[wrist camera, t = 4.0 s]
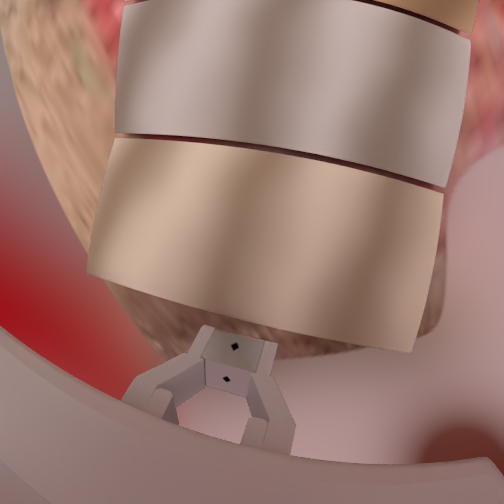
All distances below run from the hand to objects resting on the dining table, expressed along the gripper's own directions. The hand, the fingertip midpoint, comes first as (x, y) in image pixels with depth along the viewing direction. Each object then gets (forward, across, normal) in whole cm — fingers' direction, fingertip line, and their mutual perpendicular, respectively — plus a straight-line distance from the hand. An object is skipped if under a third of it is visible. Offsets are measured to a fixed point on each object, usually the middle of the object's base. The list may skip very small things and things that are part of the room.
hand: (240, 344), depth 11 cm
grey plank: (+8, +1, -10) cm, 13 cm away
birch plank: (+6, +1, -2) cm, 6 cm away
